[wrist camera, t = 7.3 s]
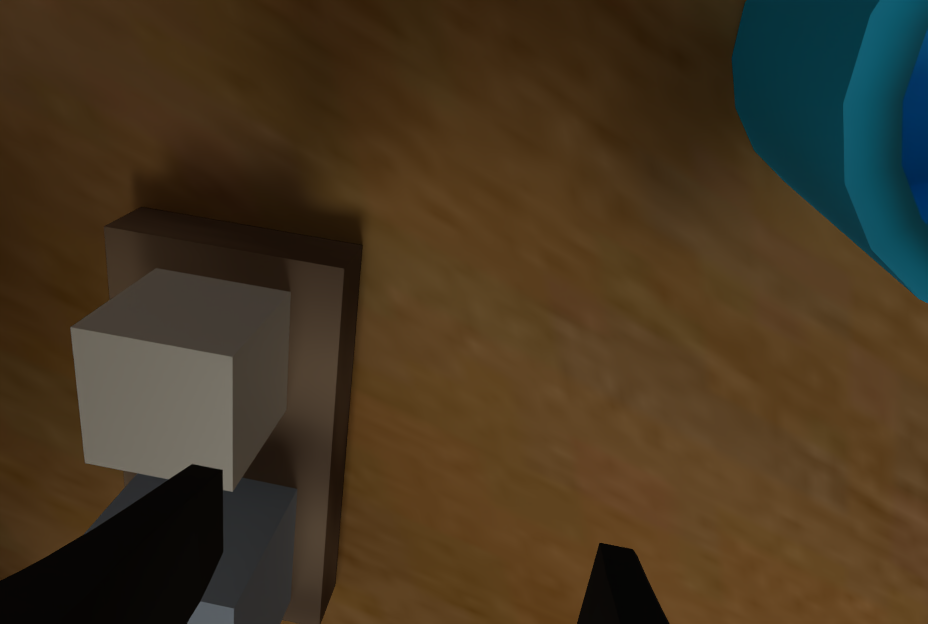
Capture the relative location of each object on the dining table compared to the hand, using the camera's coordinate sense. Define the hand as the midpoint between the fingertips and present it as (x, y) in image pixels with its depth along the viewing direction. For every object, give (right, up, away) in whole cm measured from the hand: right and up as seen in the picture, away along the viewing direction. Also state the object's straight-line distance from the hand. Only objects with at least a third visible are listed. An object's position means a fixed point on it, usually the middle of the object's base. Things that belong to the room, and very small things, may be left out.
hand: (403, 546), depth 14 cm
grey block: (-6, +4, +8) cm, 11 cm away
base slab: (-6, +1, +11) cm, 13 cm away
